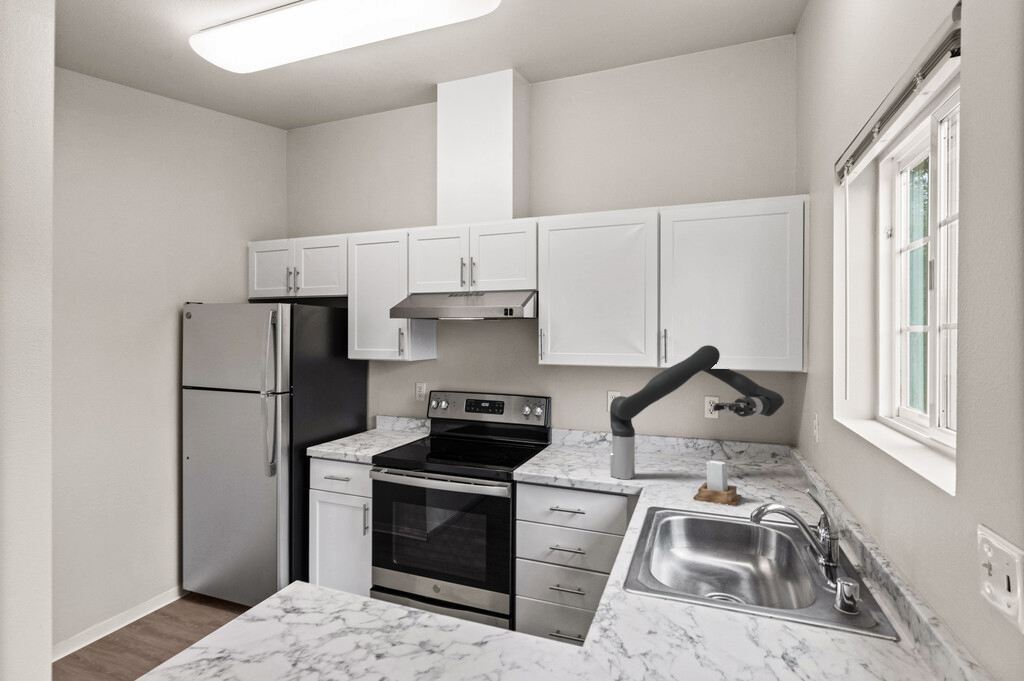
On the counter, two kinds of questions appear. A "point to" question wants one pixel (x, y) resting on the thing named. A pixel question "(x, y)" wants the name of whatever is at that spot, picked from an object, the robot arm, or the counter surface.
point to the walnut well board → (718, 495)
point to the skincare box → (717, 476)
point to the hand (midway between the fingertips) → (724, 409)
